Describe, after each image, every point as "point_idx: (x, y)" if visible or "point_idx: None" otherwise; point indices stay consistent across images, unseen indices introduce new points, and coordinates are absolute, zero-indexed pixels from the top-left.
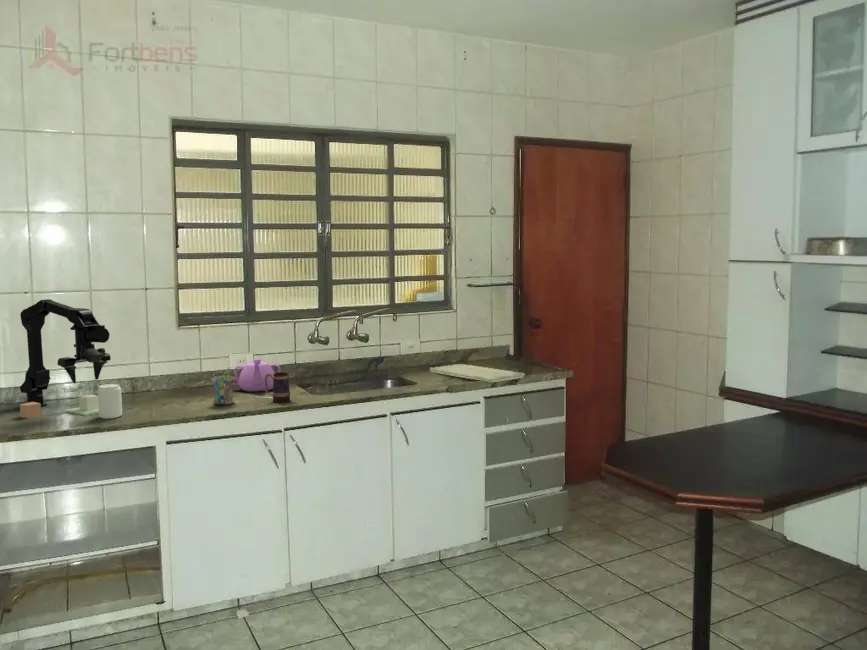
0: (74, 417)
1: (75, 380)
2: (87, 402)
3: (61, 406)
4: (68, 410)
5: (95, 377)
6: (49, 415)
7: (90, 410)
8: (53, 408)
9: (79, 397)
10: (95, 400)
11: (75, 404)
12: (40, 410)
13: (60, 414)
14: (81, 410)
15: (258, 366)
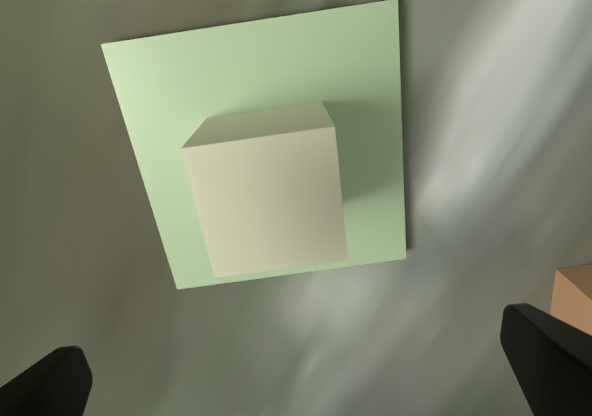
0: (477, 16)
1: (545, 328)
2: (325, 115)
3: (328, 411)
4: (403, 235)
5: (78, 409)
6: (522, 242)
7: (296, 97)
8: (385, 397)
9: (346, 251)
10: (230, 130)
11: (246, 405)
12: (586, 291)
13: (465, 215)
14: (344, 158)
15: None
